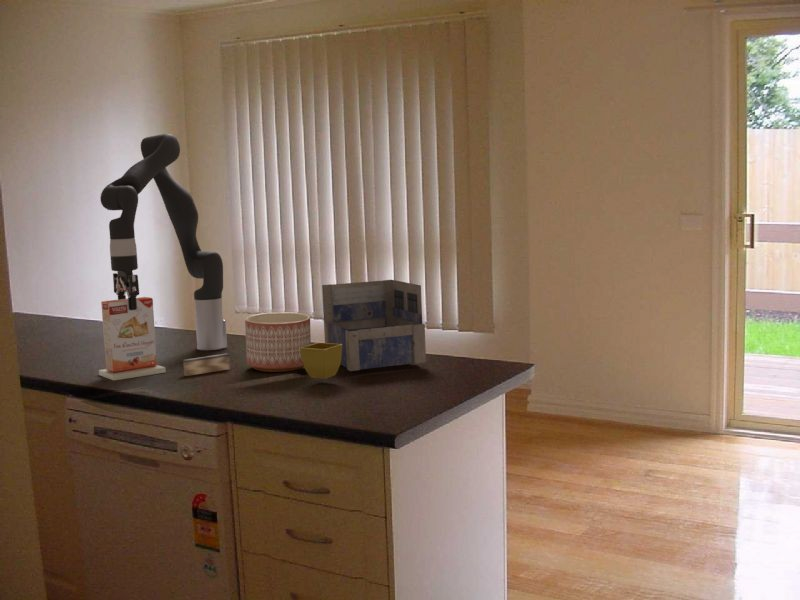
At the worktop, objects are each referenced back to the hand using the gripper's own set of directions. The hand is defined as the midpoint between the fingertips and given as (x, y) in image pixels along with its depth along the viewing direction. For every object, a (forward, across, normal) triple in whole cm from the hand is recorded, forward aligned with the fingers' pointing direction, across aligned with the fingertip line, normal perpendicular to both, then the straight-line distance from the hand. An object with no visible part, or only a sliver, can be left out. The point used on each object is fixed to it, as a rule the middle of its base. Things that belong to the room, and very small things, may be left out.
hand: (127, 308), depth 280 cm
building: (+20, -38, -62) cm, 75 cm away
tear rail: (+20, -16, -17) cm, 30 cm away
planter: (+19, -25, -36) cm, 48 cm away
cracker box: (+18, 0, 0) cm, 18 cm away
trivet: (+20, 0, 0) cm, 20 cm away
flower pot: (+20, -48, -37) cm, 64 cm away
